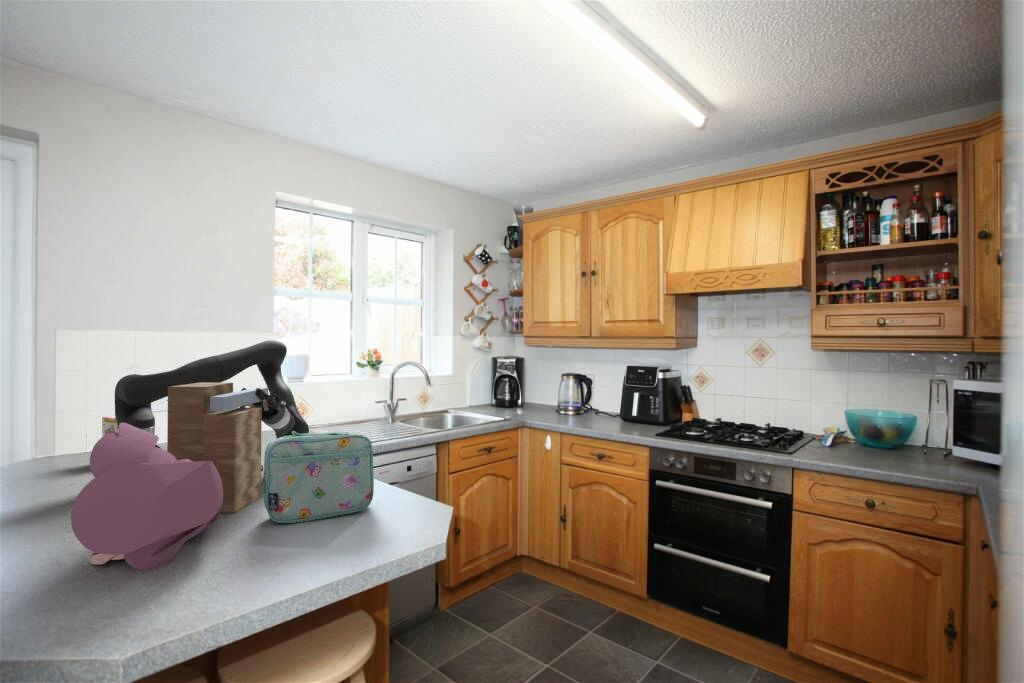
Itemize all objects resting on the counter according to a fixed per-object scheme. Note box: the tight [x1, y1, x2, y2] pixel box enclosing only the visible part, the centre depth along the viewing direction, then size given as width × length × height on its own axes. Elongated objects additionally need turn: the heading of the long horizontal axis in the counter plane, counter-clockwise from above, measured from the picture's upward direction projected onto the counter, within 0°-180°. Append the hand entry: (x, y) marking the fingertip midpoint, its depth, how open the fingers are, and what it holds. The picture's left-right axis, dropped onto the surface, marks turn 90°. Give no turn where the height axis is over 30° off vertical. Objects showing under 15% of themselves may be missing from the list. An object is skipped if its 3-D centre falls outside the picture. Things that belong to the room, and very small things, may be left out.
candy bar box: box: [101, 415, 117, 438], centre depth 179 cm, size 11×5×16 cm, turn 65°
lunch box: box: [259, 431, 375, 524], centre depth 128 cm, size 27×10×21 cm, turn 117°
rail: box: [210, 387, 269, 411], centre depth 139 cm, size 24×4×4 cm, turn 1°
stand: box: [166, 382, 263, 514], centre depth 136 cm, size 14×17×32 cm
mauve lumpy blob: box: [70, 423, 223, 572], centre depth 106 cm, size 36×24×29 cm
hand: (250, 391), depth 144 cm, fingers closed on rail, 3 cm apart
